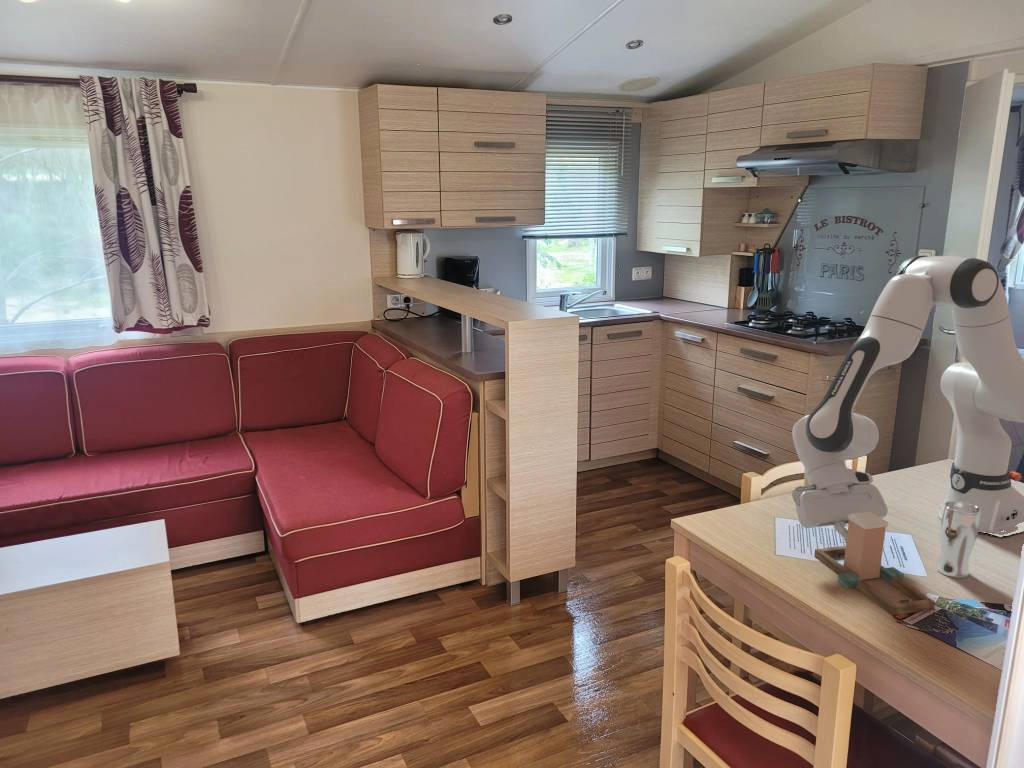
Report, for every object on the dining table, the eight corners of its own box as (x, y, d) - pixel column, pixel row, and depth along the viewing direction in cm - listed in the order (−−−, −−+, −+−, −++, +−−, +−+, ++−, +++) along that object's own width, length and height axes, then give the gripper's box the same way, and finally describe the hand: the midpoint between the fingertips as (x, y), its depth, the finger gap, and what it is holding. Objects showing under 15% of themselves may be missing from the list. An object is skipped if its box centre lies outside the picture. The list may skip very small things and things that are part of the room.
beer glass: (970, 582, 156) (981, 516, 153) (932, 573, 160) (942, 509, 156) (971, 568, 162) (982, 504, 158) (934, 560, 166) (944, 497, 162)
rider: (863, 565, 163) (870, 511, 160) (880, 578, 158) (888, 522, 155) (841, 568, 162) (848, 514, 159) (858, 580, 157) (865, 524, 154)
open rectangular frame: (858, 550, 170) (859, 544, 170) (942, 608, 147) (943, 600, 146) (806, 556, 168) (807, 550, 167) (883, 616, 144) (884, 609, 144)
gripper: (796, 481, 163) (818, 542, 157) (877, 473, 168) (903, 532, 161) (782, 492, 169) (804, 552, 162) (862, 484, 173) (886, 542, 166)
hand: (854, 542), depth 161 cm, fingers closed, pressing on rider
